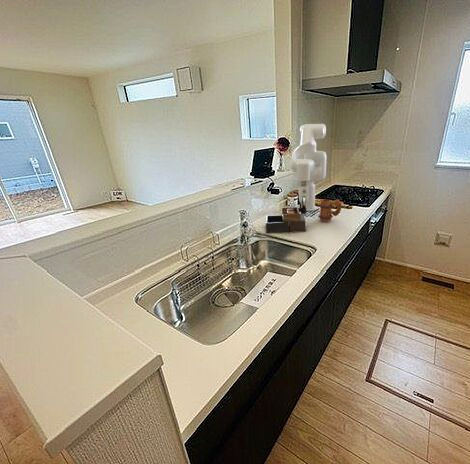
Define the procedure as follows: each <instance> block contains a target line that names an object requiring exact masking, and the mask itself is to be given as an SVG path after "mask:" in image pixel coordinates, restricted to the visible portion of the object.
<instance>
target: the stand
mask: <svg viewBox="0 0 470 464" xmlns="http://www.w3.org/2000/svg"><path fill="white" fill-rule="evenodd" d="M304 215H305V214H301V213H300V221H291V222H289V232H290V233H296V232H297V233H298V232H299V233H300V232H303V233H304V232H306V221H307V220H306V218H305V216H304Z"/></svg>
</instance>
